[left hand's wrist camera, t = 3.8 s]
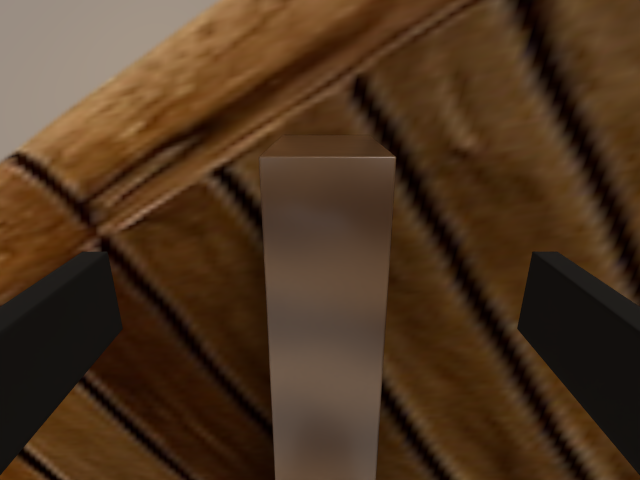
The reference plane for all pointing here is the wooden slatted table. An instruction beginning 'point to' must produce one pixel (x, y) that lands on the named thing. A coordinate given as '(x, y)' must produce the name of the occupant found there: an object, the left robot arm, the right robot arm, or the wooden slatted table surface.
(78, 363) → the left robot arm
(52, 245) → the wooden slatted table surface
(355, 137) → the plank
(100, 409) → the wooden slatted table surface
